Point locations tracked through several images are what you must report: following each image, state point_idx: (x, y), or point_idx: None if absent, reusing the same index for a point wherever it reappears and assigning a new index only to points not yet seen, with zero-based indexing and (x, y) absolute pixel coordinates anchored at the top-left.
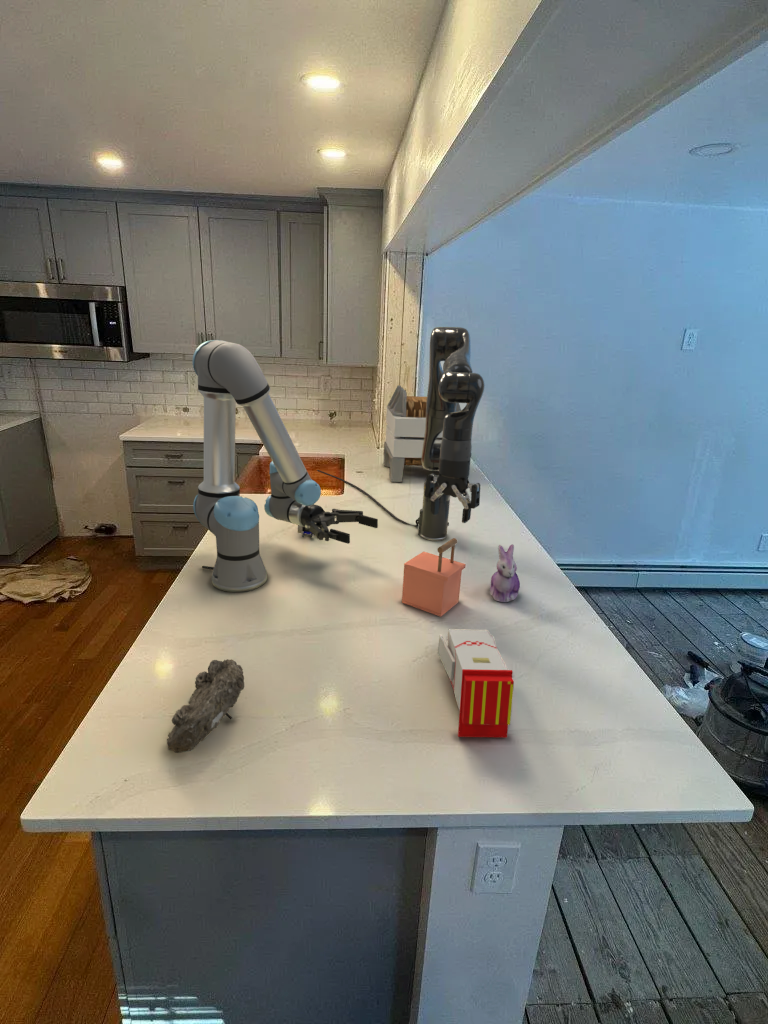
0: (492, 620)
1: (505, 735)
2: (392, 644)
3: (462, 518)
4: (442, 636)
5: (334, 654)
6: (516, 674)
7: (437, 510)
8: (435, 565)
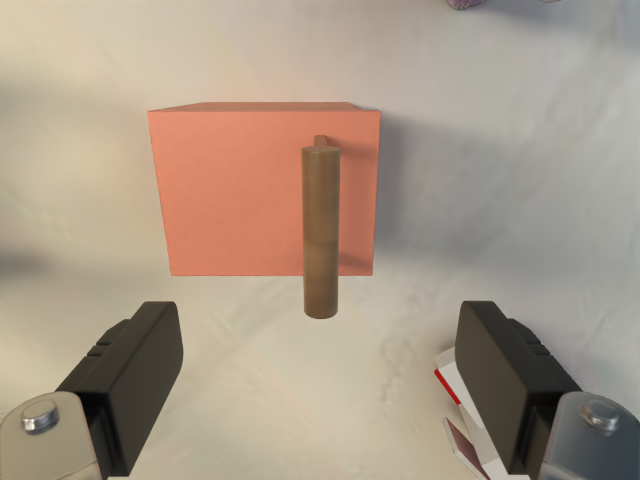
0: (481, 143)
1: None
2: (315, 380)
3: (470, 388)
4: (462, 454)
5: (246, 458)
6: (590, 325)
7: (164, 333)
8: (278, 214)
